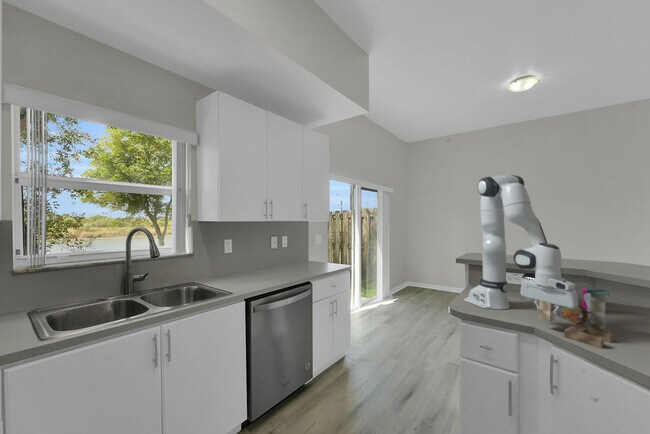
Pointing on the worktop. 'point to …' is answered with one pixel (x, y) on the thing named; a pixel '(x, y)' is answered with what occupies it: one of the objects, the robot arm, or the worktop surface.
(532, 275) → the coffee cup
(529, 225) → the robot arm
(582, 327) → the notched board
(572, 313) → the tin
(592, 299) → the bobbin post
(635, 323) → the worktop surface
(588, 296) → the supplement box
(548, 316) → the maple block
